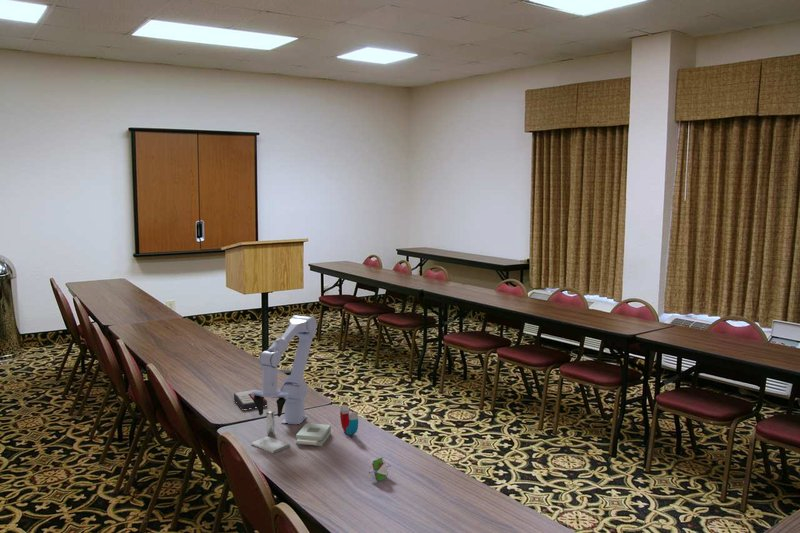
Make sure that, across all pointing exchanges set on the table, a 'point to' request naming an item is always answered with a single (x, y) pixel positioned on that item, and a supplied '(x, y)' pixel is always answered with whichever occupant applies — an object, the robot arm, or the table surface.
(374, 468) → the geometric puzzle
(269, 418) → the pin
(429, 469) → the table surface
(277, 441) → the external hard drive
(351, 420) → the magnet
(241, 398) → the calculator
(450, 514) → the table surface
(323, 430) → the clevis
